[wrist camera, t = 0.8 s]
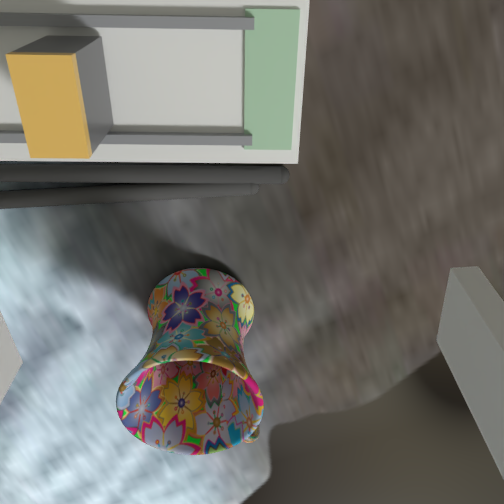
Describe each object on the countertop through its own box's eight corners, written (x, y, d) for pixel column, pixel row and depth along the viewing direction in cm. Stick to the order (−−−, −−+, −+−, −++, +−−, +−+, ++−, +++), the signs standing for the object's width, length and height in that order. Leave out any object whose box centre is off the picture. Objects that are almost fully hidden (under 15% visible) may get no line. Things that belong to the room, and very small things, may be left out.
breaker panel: (-96, 151, 32) (-116, 163, 30) (-162, -22, 27) (-192, -20, 25) (295, 155, 33) (298, 167, 31) (307, -14, 27) (311, -11, 25)
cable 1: (-80, 176, 33) (-90, 183, 32) (-87, 159, 32) (-97, 166, 31) (288, 179, 34) (289, 186, 33) (289, 163, 33) (290, 170, 32)
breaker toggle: (64, 124, 29) (30, 158, 25) (47, 35, 27) (5, 54, 22) (113, 124, 30) (89, 158, 25) (101, 36, 27) (71, 55, 22)
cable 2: (-67, 208, 34) (-77, 216, 33) (-74, 192, 34) (-84, 200, 33) (259, 189, 34) (259, 197, 33) (258, 174, 33) (259, 181, 32)
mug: (120, 295, 39) (83, 400, 30) (211, 236, 36) (200, 332, 27) (213, 379, 44) (205, 489, 35) (298, 333, 41) (314, 441, 32)
